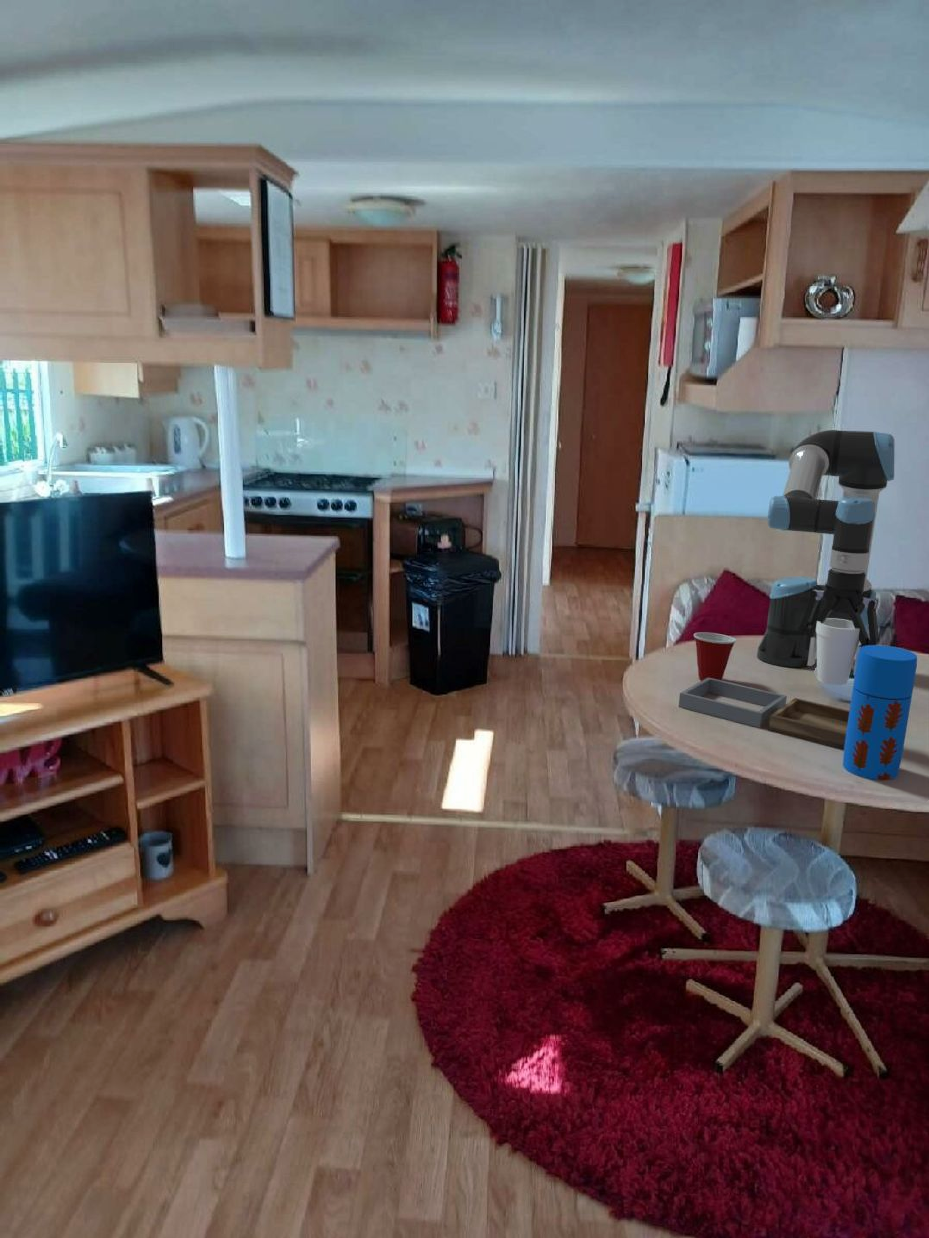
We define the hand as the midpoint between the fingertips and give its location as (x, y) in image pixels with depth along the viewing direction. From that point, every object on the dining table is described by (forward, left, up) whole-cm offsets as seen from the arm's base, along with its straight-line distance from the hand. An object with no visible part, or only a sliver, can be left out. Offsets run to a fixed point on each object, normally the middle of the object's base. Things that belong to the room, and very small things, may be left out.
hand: (833, 669), depth 210 cm
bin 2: (0, 0, -15) cm, 15 cm away
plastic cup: (-17, -35, -15) cm, 42 cm away
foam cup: (0, 0, -3) cm, 3 cm away
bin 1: (0, -22, -15) cm, 27 cm away
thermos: (+15, +14, -15) cm, 25 cm away
